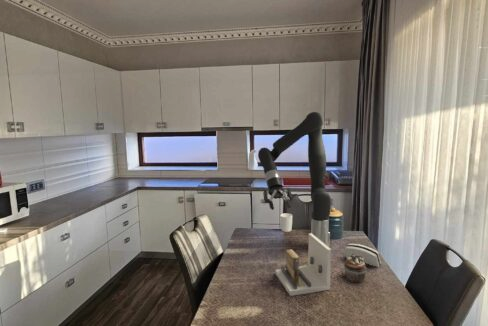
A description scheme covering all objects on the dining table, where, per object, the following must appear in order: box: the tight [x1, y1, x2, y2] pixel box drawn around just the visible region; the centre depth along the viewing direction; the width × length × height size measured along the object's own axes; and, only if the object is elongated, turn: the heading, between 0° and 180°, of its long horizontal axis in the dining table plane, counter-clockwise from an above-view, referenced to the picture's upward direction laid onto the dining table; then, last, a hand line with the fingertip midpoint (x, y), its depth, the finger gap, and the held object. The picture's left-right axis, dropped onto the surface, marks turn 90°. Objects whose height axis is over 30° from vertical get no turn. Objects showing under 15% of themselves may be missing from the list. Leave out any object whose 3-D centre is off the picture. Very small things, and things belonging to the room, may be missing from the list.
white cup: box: [279, 212, 293, 233], centre depth 191 cm, size 8×8×10 cm
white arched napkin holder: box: [345, 243, 382, 268], centre depth 148 cm, size 17×5×10 cm, turn 49°
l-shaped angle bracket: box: [275, 232, 332, 297], centre depth 130 cm, size 18×18×18 cm
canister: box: [329, 207, 345, 240], centre depth 180 cm, size 13×13×18 cm
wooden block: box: [285, 249, 300, 279], centre depth 132 cm, size 3×9×10 cm, turn 14°
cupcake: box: [344, 254, 368, 283], centre depth 133 cm, size 10×10×10 cm
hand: (281, 208), depth 143 cm, fingers open, 8 cm apart
